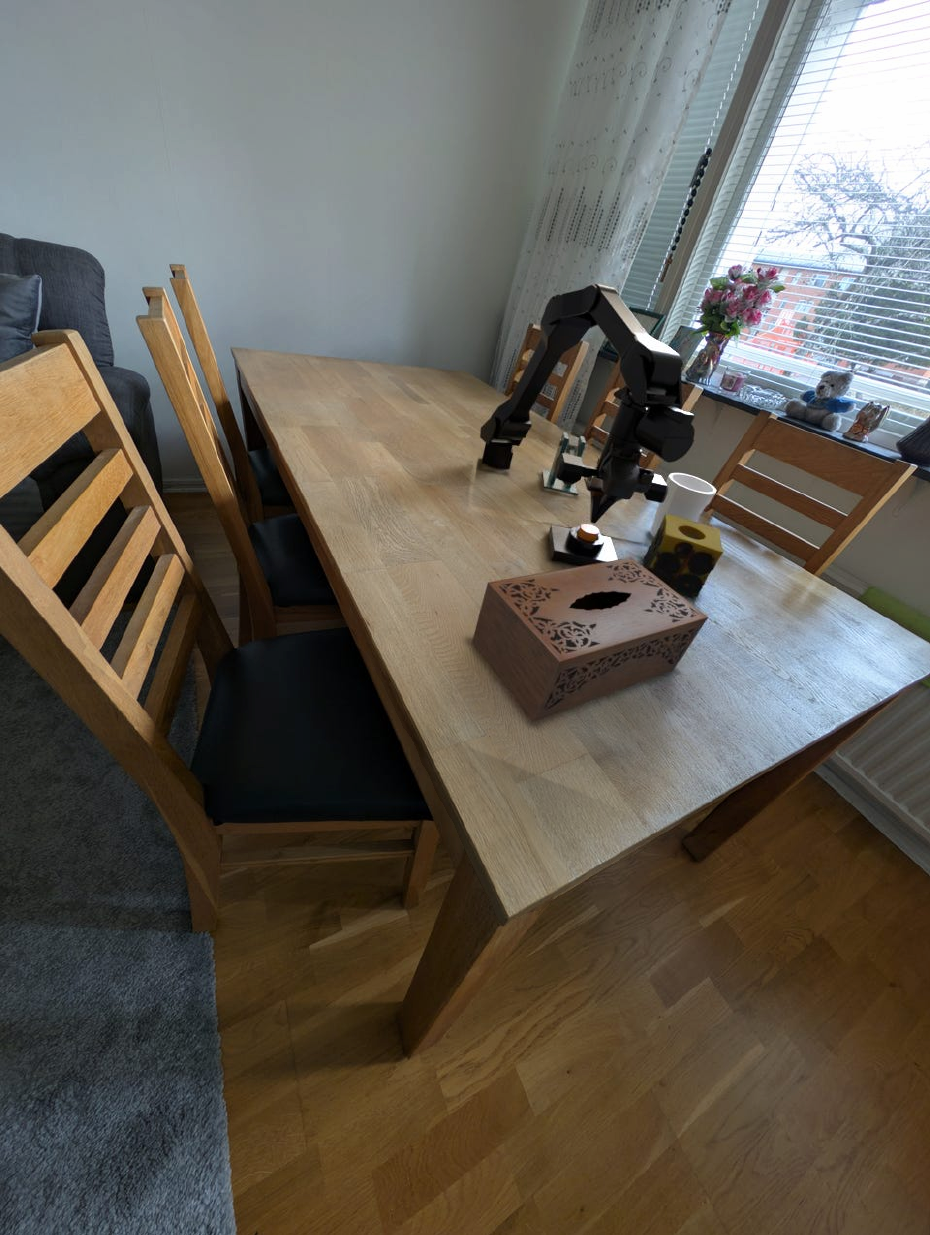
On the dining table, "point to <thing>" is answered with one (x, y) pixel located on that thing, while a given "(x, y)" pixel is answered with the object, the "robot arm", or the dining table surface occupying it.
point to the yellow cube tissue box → (683, 554)
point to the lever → (571, 451)
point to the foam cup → (683, 499)
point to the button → (588, 532)
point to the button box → (579, 547)
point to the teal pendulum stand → (550, 477)
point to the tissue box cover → (582, 633)
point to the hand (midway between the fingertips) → (592, 522)
